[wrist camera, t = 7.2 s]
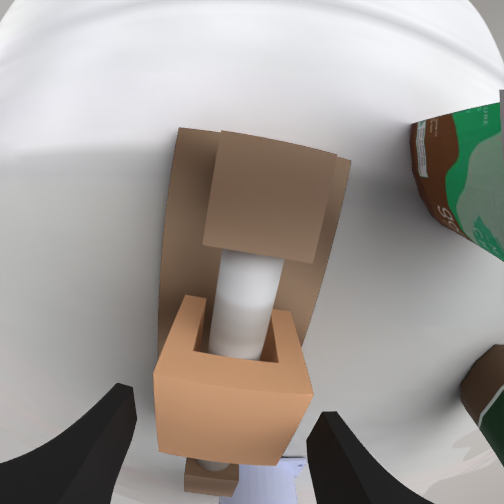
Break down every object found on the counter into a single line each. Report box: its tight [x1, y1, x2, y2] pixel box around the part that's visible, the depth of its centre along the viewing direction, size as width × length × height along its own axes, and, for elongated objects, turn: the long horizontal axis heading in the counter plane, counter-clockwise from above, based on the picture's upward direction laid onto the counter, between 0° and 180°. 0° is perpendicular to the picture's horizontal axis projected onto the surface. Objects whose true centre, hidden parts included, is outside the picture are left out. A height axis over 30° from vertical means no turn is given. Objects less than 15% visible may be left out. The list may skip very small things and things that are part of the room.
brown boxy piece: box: [158, 128, 351, 497], centre depth 12 cm, size 20×8×6 cm, turn 170°
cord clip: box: [153, 295, 314, 466], centre depth 11 cm, size 5×5×6 cm
